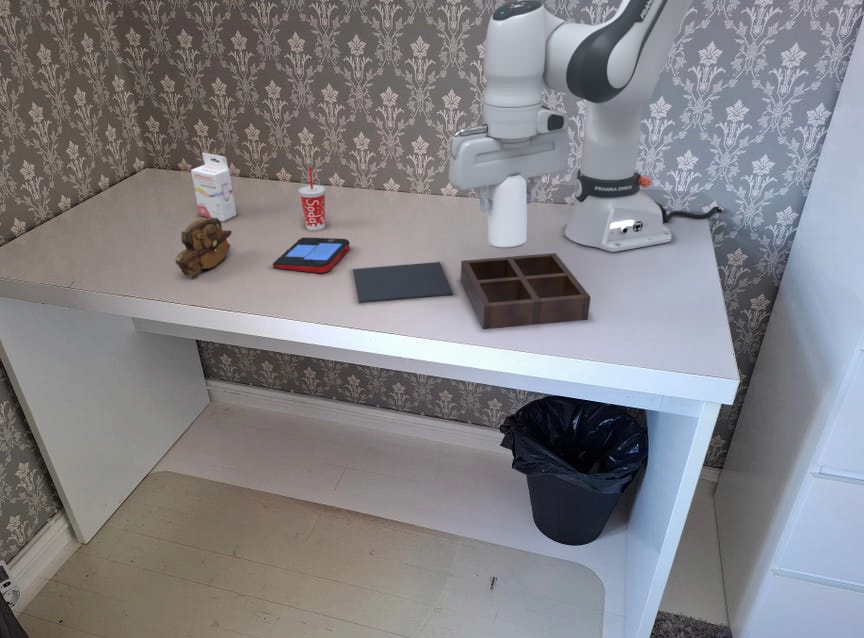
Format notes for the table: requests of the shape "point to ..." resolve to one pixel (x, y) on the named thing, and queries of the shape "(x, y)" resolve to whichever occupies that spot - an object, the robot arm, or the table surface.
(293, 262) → the game console
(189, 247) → the wooden carving
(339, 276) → the table surface
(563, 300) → the crate
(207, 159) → the ink cartridge box
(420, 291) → the mat
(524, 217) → the can
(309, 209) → the beverage cup
